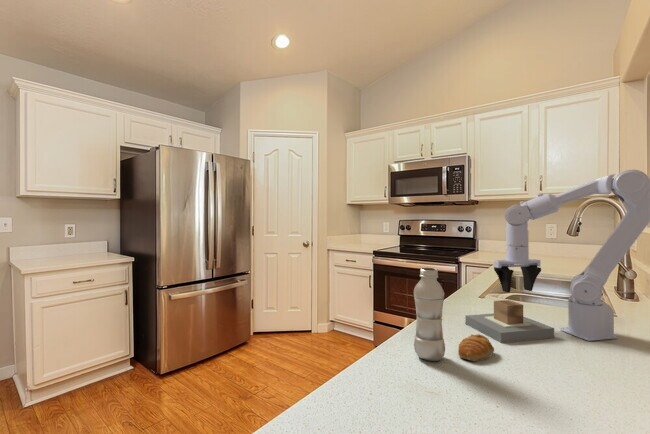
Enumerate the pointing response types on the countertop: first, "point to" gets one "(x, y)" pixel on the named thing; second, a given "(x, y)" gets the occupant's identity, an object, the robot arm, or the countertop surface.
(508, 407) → the countertop surface
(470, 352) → the pastry
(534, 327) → the slate board
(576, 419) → the countertop surface
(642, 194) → the robot arm
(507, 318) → the walnut cube
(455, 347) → the countertop surface
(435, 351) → the plastic bottle
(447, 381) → the countertop surface
